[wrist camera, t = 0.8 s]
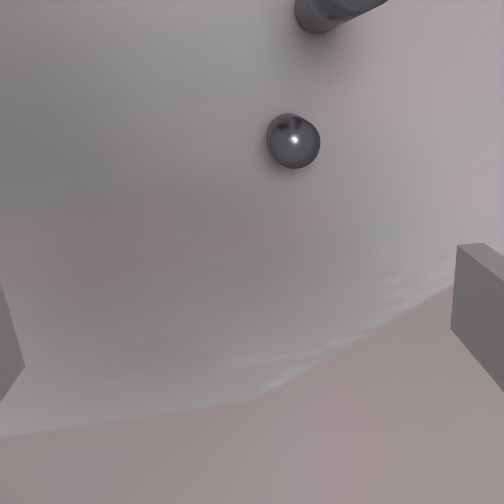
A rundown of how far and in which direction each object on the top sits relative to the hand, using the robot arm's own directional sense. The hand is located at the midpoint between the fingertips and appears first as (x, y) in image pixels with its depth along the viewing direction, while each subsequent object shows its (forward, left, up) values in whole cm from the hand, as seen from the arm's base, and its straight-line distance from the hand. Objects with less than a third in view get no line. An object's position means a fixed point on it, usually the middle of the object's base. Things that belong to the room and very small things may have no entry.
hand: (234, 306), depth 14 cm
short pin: (-1, +5, -27) cm, 27 cm away
